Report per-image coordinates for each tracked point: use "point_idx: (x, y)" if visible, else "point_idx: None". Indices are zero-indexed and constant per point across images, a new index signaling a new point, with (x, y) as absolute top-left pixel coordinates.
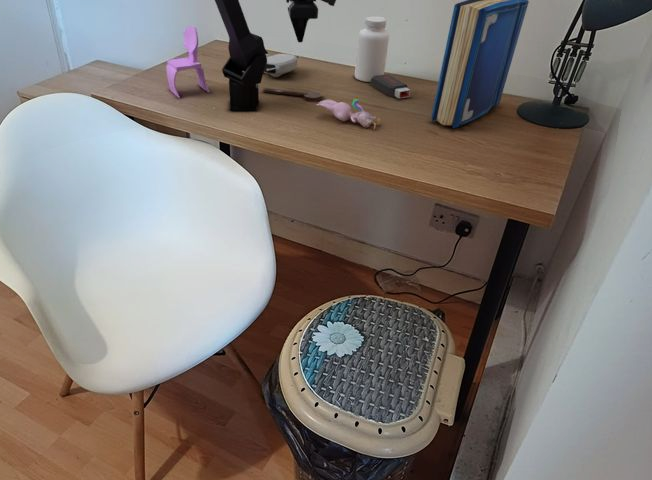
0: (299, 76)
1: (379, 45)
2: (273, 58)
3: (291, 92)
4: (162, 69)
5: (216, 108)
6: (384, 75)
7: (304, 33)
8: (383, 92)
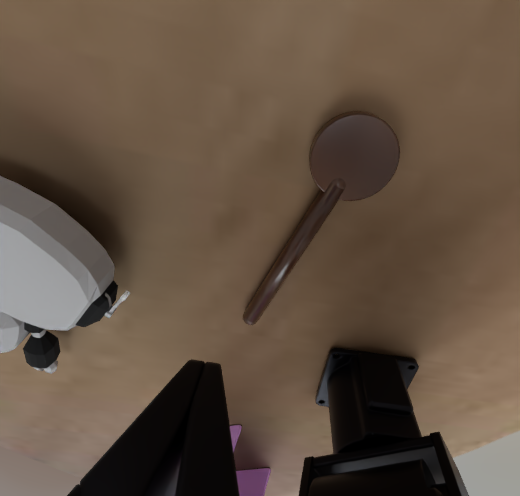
0: (57, 156)
1: None
2: (5, 293)
3: (307, 245)
4: (78, 469)
5: None
6: None
7: (231, 443)
8: None
